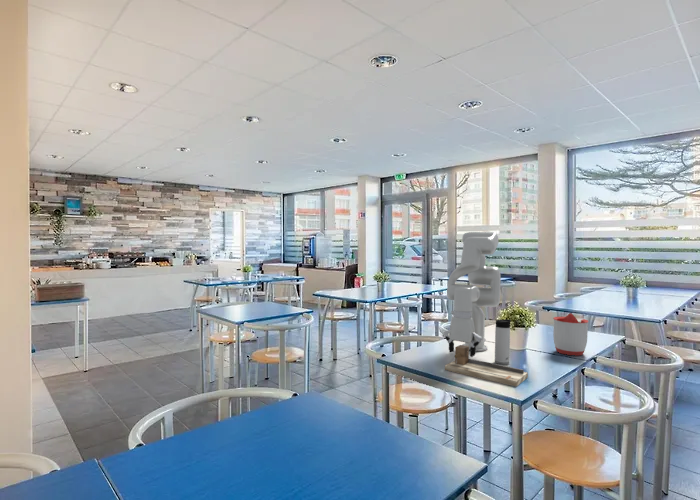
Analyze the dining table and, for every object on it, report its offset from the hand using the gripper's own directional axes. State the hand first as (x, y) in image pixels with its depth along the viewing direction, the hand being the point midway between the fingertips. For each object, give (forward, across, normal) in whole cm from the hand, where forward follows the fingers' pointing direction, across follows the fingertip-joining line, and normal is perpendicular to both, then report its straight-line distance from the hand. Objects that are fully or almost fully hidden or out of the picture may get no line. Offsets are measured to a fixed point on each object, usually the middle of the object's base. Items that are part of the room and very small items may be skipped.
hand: (461, 353), depth 182 cm
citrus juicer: (+5, +30, +60) cm, 68 cm away
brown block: (+4, 0, -1) cm, 4 cm away
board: (+6, +11, 0) cm, 12 cm away
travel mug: (+6, +11, +20) cm, 23 cm away
